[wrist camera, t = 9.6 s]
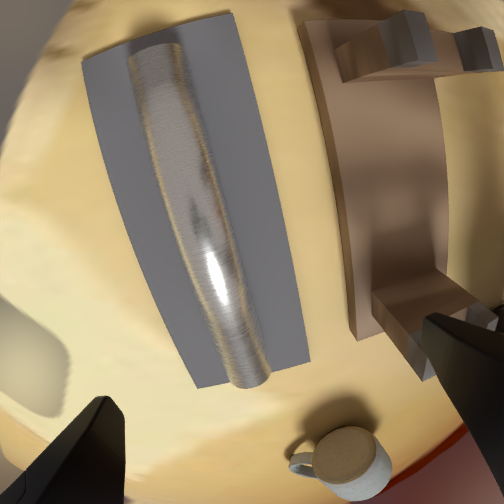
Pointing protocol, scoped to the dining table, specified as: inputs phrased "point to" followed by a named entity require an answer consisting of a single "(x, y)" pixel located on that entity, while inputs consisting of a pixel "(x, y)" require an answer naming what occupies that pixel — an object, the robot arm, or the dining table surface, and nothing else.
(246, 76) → the grey flat tapered piece
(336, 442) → the ceramic mug
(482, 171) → the dining table surface
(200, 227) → the steel rod
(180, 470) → the dining table surface
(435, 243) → the hook stand
